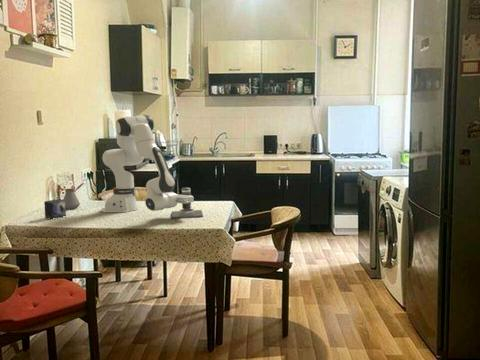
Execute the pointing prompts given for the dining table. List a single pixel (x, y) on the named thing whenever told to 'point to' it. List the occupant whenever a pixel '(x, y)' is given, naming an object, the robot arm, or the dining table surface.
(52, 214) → the small box
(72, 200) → the coffee pot
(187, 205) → the grey peg
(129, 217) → the dining table surface
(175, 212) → the mount plate
